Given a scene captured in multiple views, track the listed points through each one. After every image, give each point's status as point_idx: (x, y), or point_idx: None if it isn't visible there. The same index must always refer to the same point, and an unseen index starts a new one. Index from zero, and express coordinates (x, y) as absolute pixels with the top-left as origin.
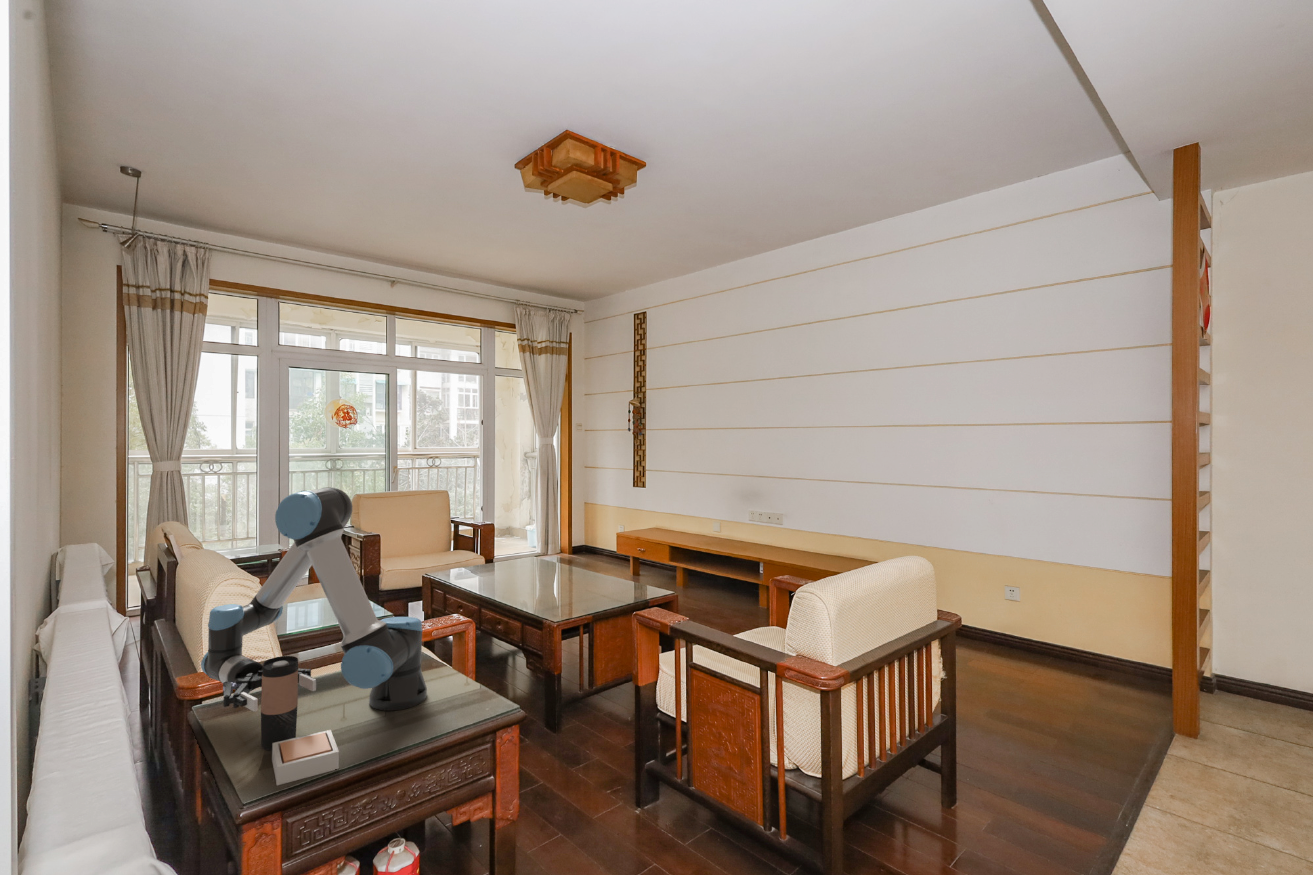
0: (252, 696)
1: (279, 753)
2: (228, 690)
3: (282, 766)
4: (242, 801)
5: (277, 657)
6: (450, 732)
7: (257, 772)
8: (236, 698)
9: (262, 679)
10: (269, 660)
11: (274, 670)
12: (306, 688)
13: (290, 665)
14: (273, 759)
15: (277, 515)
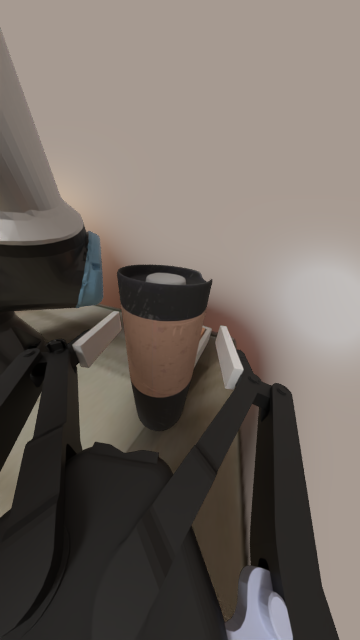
0: (224, 337)
1: (201, 339)
2: (282, 433)
3: (208, 327)
4: (233, 343)
5: (140, 281)
6: (103, 306)
7: (211, 365)
8: (251, 371)
9: (203, 319)
10: (171, 288)
11: (196, 279)
12: (109, 343)
13: (169, 268)
14: (198, 356)
15: None
